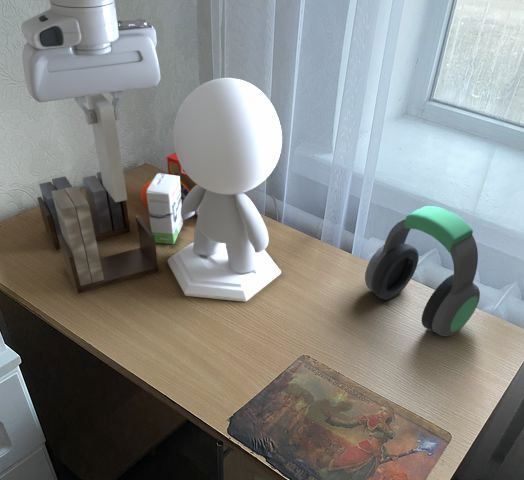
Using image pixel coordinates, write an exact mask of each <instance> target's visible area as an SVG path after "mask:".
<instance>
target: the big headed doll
mask: <svg viewBox="0 0 524 480" xmlns="http://www.w3.org/2000/svg"><path fill="white" fill-rule="evenodd" d="M172 139H173V141H172V142H173V147H174V153H176V155H177V158H178V160H179V163H180V164H181V166H182V168H183V170H184V171H185V172H186V174H187V175H188V176H189V177H190V178H191V179H192V180H193V181H194V182H195V183H197V185H196V186H195V187H194V188H193V189H192V190H191V191H190V192H189V193H188V195H187V196H186V197H185V199H184V201H183V203H182V207H181V217H182V219H183V221H185V220H188V219H189V218H191V217H193V216H195V211H196V214H197V215H198V216H197V215H196V216H197V217H196V223H195V228H194V237H193V242H191V243H189V244H187V246H185V247H183V248H182V249H180V250H179V251H177V252H175V253H173V254H172V255H171V256H170V257H169V258H168V259H167V264H168V266H169V268H170V270H171V271H172V273H173V275H174V278H175V280H176V281H177V283H178V285H179V286H180V288H181V290H182V292H183V294H184V296H185V297H194V298H204V299H212V300H213V299H215V300H224V301H225V300H226V301H234V302H242V303H243V302H244V303H245V302H247V301H249V300H250V299H252V298H253V297H254V296H256V294H257V293H258V292H260V291H261V290H263V289H264V288H266V286H268V285H269V284H270V283H271V282H272V281H274V280H276V278H278V277H279V276H280V275H281V274H282V271H281V269H280V268H279V266H278V265H277V264H276V263H275V261H274V260H273V259H272V257H271V255H270V254H269V253H268V252H267V251H266V249H267V247H268V245H269V232H268V228H267V226H266V223H265V221H264V219H263V217H262V216H261V214H260V212H259V210H258V209H257V207H256V205H255V204H254V203H253V201H252V200H251V199H250V197H248V195H246V194H245V193H246V192H249V191H251V190H253V189H255V188H256V187H258V186H260V185H261V184H262V183H263V182H264V181H265V180H266V179H267V178H268V177H269V176H270V175H271V174H272V172H273V171H274V170H275V168H276V166H277V164H278V162H279V159H280V156H281V153H282V146H283V133H282V127H281V123H280V119H279V116H278V114H277V111H276V109H275V107H274V105H273V103H272V102H271V100H270V99H269V98H268V97H267V95H265V93H264V92H263V91H262V90H260V88H258V87H257V86H255V85H254V84H252V83H250V82H248V81H247V80H243V79H239V78H236V77H235V78H234V77H220V78H215V79H211V80H209V81H205V82H203V83H202V84H200V85H199V86H197V87H196V88H194V89H193V90H192V91H191V92H190V93H188V95H187V96H186V97H185V98H184V100H183V101H182V103H181V105H180V106H179V108H178V111H177V113H176V115H175V119H174V123H173V131H172Z"/></svg>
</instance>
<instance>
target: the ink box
mask: <svg viewBox="0 0 524 480" xmlns="http://www.w3.org/2000/svg"><path fill="white" fill-rule="evenodd" d="M153 178H154V179H153V181H152V182H151V184H150V186H149V187H148V189H147V192H146V194H147V202H148V208H147V209H148V210H147V211H148V217H149V224H150V231H151V232H152V234H153V235H154V238H155V244H167V245H175V243H176V240H177V239H178V236H179V234H180V232H181V229H182V228H183V225H184V220H183V219H182V217H181V207H182V201H181V187H180V176H176V175H169V174H168V173H161V172H158V173H156V175H155V176H154V177H153Z"/></svg>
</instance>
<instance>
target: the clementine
mask: <svg viewBox="0 0 524 480" xmlns="http://www.w3.org/2000/svg"><path fill="white" fill-rule="evenodd" d="M154 178H155V177H152V178H151V180H149V181H146V183H145V184H144V185H143V186H142V188H141V191H140V199H141V202H142V204H143V205H144V206H145V207H146V208H147V209H148V202H147V194H146V192H147V189H148V187H149V186H150V184H151V182H152V181H153V179H154Z"/></svg>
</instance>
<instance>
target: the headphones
mask: <svg viewBox="0 0 524 480" xmlns="http://www.w3.org/2000/svg"><path fill="white" fill-rule="evenodd" d="M411 230H418V231H420V232H423V233H425V234H427V235H429V236H430V237H432V238H434V239H435V240H436V241H438V242H439V243H440V244H441V245H442V246H443V247H444V249H446V251H447V252H448V253H449V254H450V257H451V259H452V264H453V265H452V266H453V274H451V275H449V276H448V277H446V278H445V279H444V280H443V281H442V282H441V283H439V285H438V286H437V287H436V289H435V290H434V291H433V293H432V294H431V295H430V297H429V298H428V300H427V302H426V305H425V307H424V308H423V311H422V315H421V324H422V326H423V327H424V328H425V329H426V330H428V331H430V332H433V333H435V334H437V335H440V336H441V337H450V336H453V335H454V334H456V333H457V332H458V331H460V330H461V329H462V328H463V327H464V326H465V325H466V324H467V322H469V320H470V319H471V317H472V316H473V314H474V313H475V311H476V309H477V307H478V304H479V302H480V296H481V292H480V288H479V286H478V285H477V284H475V283H474V282H475V281H474V280H475V277H476V275H477V269H478V263H479V252H478V246H477V242H476V239H475V237H474V235H473V232H474V230H473V228H472V227H471V226H470V225H469V223H467V222H466V221H465V219H463V218H462V217H461V216H459V215H457V214H456V213H454V212H452V211H450V210H448V209H445V208H442V207H439V206H434V205H425V206H422V207H421V208H418V209H416V210H414V211H411V212H410V213H408V214H407V215H406V217H405V219H402V220H400V221H398V222H397V223H396V224H395V225H394V226H393V227H392V228H391V230H390V231H389V232H388V234H387V236H386V239H385V241H384V244H382V246H380V247H379V248H378V249H377V250H376V251H375V252H374V254H373V255H372V257H371V258H370V259H369V262H368V264H367V266H366V269H365V272H364V281H365V285H366V287H367V288H368V289H369V290H370V291H372V292H373V293H374V295H375V296H377V298H379V299H381V300H386V301H387V300H390V299H393V298H394V297H396V296H397V295H398V294H400V293H401V292H402V291H403V290H404V289H405V288H406V286H407V285H408V284H409V282H410V281H411V280H412V277H413V276H414V274H415V272H416V270H417V267H418V264H419V257H420V255H419V252H418V250H417V248H416V247H414V246H412V245H411V244H409V243H406V240H407V238H408V236H409V233H410V231H411Z"/></svg>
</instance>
